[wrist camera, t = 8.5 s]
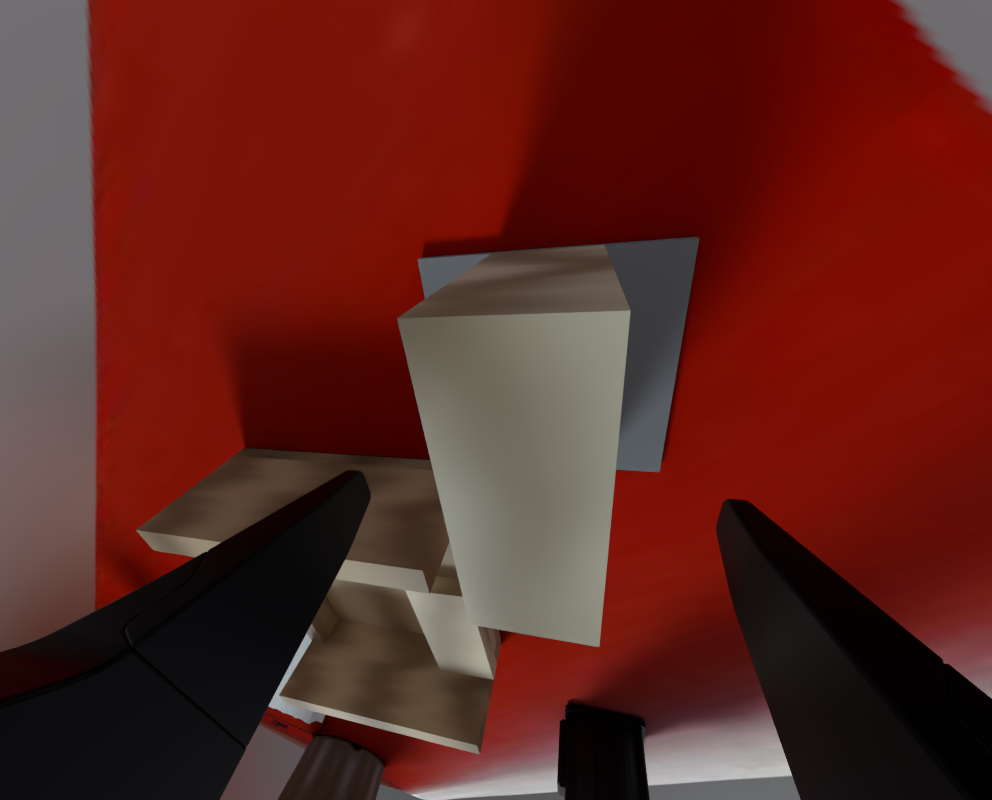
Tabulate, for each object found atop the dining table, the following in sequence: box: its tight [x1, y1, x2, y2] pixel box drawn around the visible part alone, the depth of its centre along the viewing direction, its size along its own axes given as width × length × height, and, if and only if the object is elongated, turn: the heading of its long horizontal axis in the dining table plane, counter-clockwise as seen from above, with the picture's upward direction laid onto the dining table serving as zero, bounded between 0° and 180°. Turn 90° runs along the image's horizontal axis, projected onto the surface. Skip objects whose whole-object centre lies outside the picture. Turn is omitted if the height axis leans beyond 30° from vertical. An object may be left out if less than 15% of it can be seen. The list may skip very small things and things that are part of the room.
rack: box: [136, 448, 498, 754], centre depth 23 cm, size 15×19×6 cm
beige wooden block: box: [397, 245, 631, 647], centre depth 12 cm, size 4×10×8 cm, turn 6°
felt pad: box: [418, 237, 699, 472], centre depth 15 cm, size 10×10×1 cm
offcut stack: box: [405, 542, 501, 680], centre depth 22 cm, size 4×14×3 cm, turn 6°
